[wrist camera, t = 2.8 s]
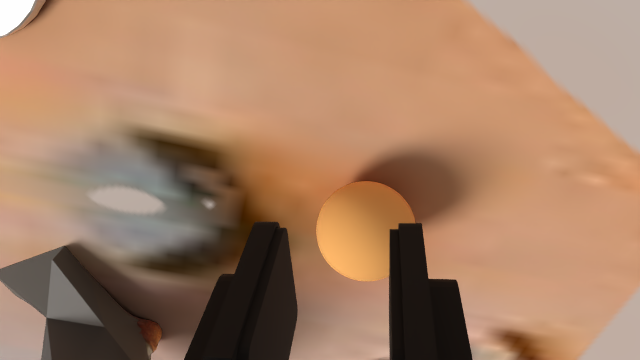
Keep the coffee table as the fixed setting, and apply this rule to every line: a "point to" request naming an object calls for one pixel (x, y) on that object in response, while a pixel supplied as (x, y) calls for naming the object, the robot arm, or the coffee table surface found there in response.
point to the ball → (361, 229)
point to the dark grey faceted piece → (78, 311)
